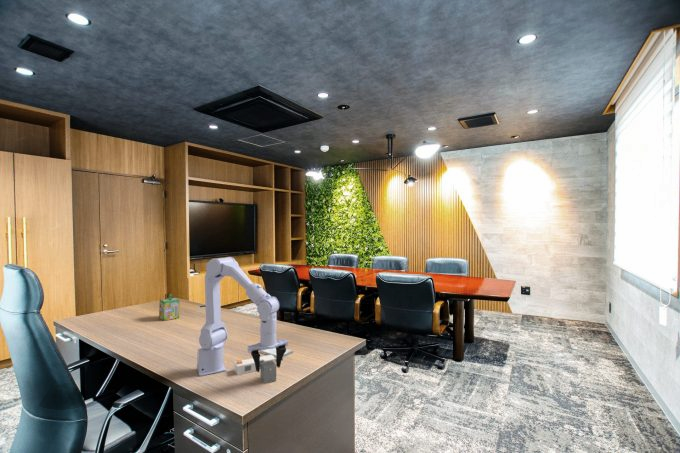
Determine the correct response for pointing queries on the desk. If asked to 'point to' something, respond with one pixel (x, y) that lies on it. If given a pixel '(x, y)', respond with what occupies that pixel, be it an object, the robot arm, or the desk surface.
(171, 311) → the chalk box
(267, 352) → the hard drive
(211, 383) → the desk surface
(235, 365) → the power strip
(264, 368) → the block
